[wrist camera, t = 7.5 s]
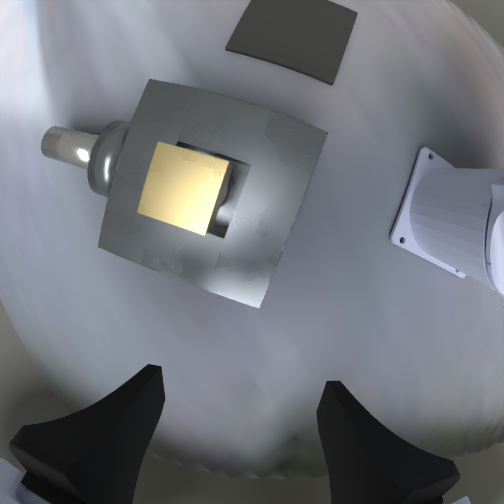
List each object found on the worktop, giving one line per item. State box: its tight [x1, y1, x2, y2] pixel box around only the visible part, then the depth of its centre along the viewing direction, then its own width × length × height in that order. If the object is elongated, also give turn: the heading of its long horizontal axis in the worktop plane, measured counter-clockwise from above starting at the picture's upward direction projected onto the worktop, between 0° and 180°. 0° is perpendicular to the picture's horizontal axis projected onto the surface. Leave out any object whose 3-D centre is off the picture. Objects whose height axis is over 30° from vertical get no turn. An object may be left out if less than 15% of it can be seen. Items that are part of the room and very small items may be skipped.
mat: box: [225, 0, 358, 85], centre depth 15 cm, size 8×8×1 cm
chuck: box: [41, 79, 328, 308], centre depth 16 cm, size 18×10×5 cm, turn 70°
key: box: [137, 142, 234, 235], centre depth 13 cm, size 3×3×7 cm
